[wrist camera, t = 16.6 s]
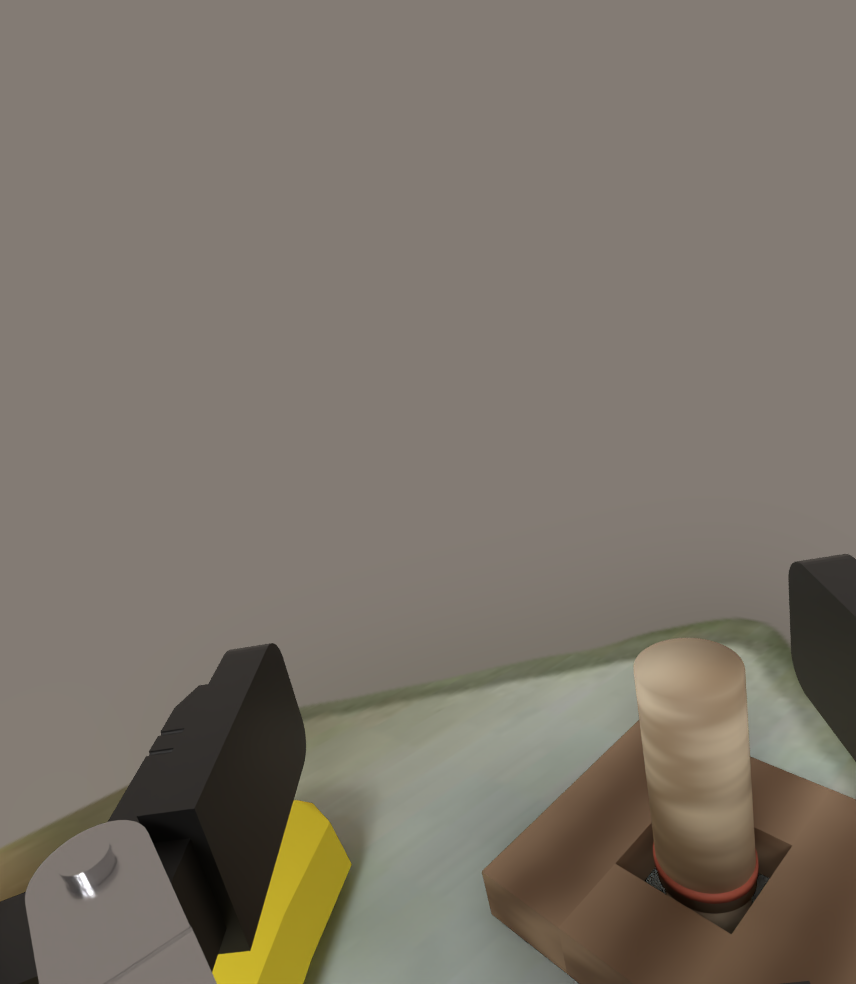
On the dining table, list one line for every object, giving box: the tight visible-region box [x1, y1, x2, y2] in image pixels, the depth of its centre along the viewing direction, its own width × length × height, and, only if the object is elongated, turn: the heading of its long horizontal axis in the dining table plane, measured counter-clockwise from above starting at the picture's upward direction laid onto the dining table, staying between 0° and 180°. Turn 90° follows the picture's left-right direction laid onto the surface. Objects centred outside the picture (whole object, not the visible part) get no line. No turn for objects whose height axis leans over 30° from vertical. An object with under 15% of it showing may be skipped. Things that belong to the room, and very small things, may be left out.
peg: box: [634, 638, 759, 934], centre depth 34 cm, size 5×5×14 cm
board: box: [482, 720, 856, 984], centre depth 36 cm, size 16×15×3 cm
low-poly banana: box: [212, 800, 352, 984], centre depth 36 cm, size 18×7×8 cm
